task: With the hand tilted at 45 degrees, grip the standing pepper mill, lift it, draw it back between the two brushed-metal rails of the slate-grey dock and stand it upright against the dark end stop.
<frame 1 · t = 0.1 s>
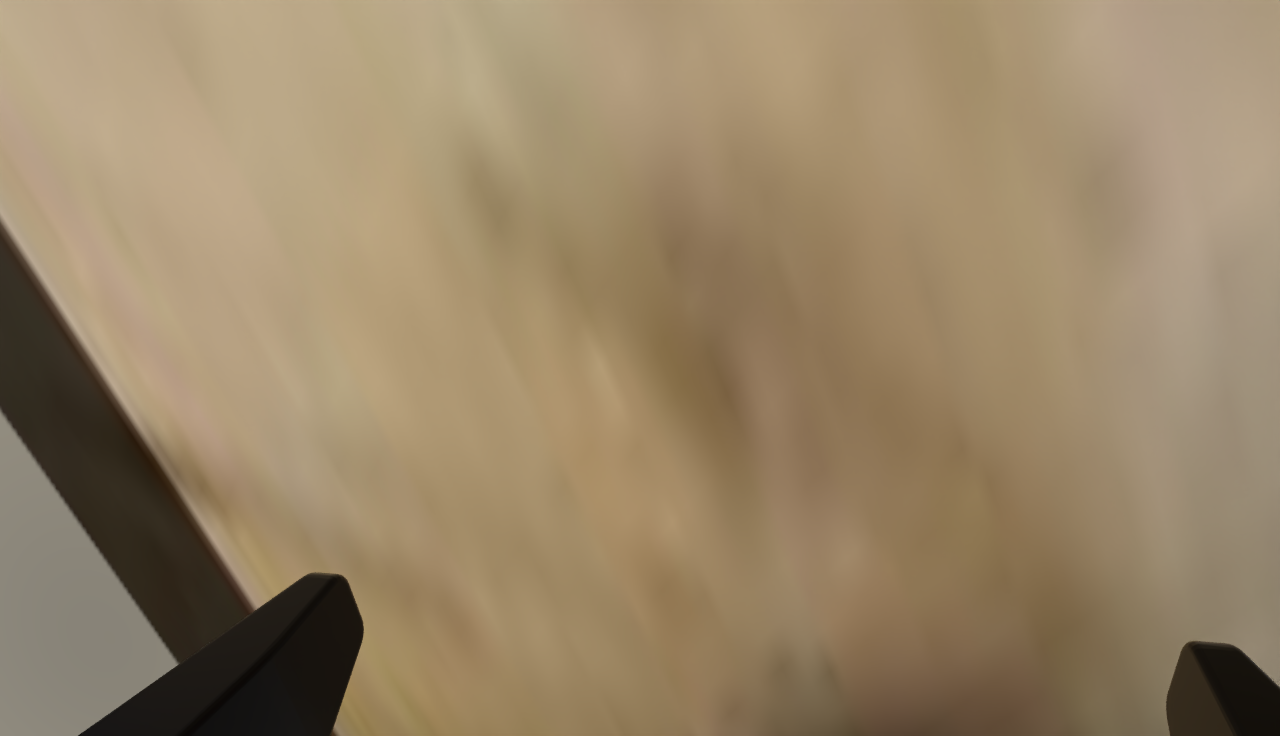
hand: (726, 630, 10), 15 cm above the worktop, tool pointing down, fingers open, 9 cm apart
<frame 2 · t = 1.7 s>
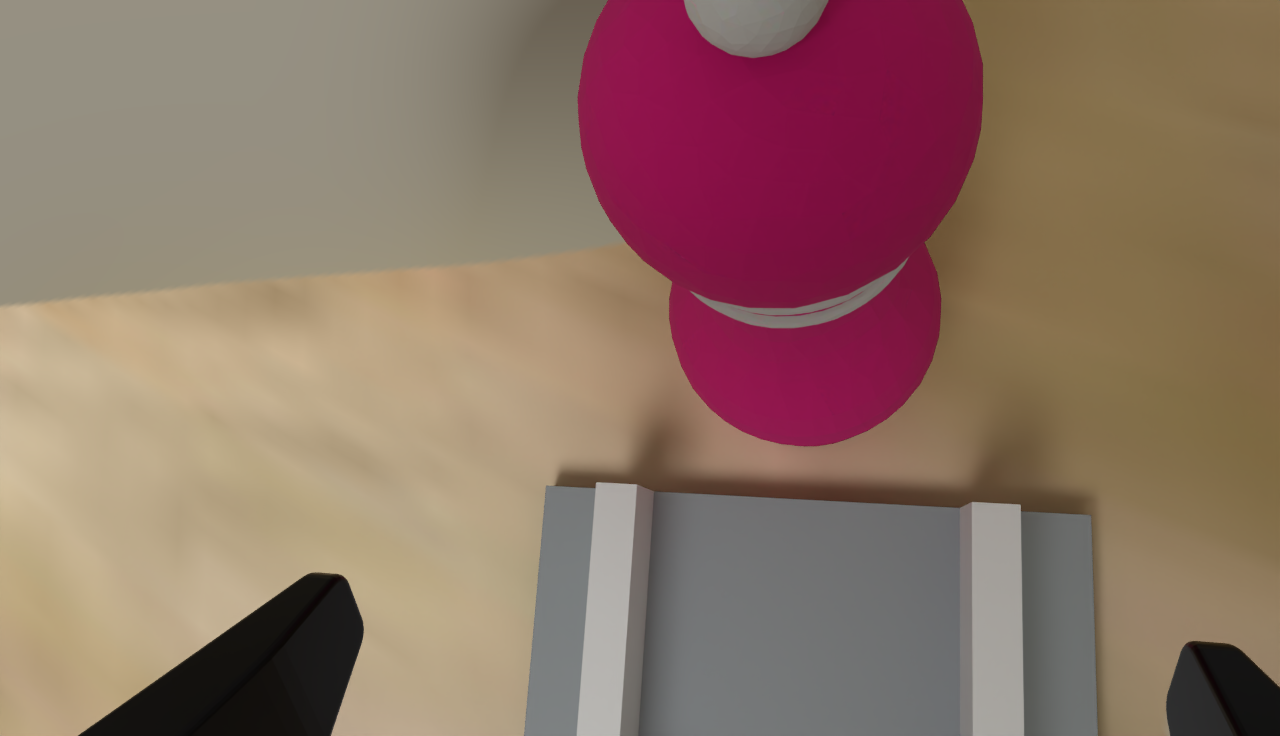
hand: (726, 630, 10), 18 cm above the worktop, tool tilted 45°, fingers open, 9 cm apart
pepper mill: (807, 350, 29), on the worktop
rail dock: (796, 678, 27), on the worktop
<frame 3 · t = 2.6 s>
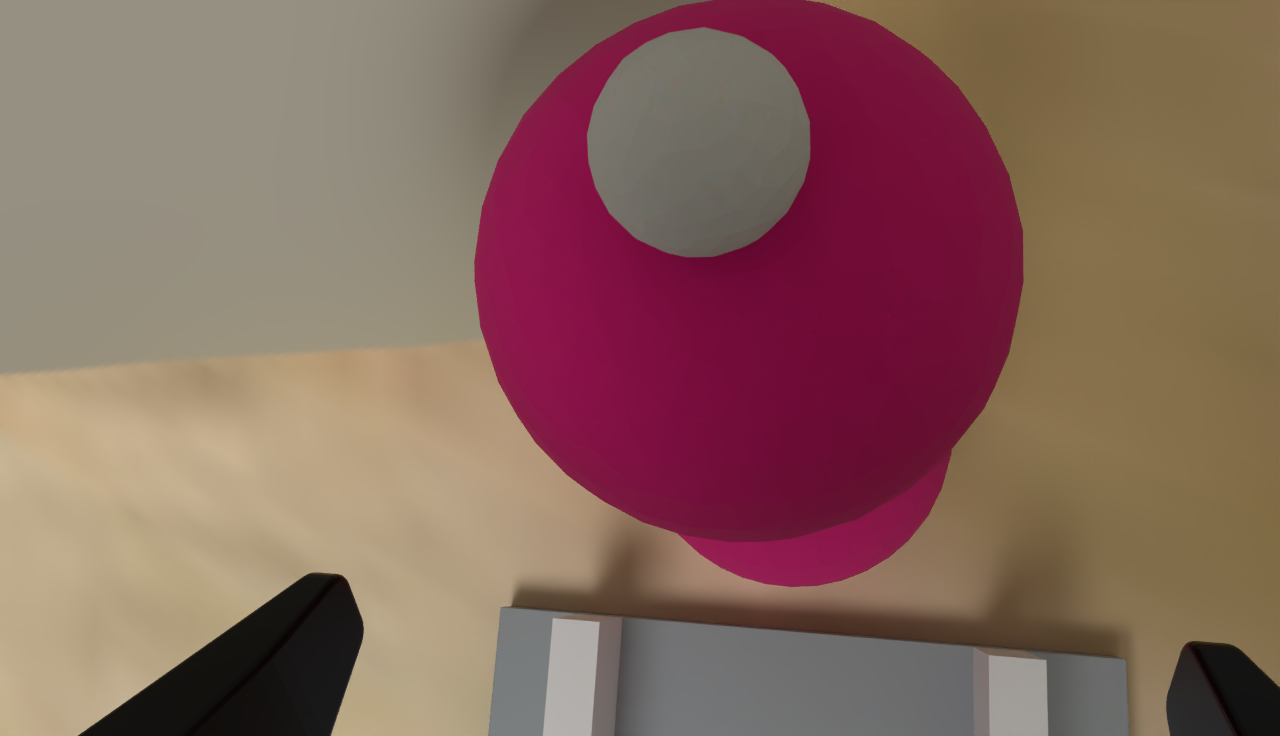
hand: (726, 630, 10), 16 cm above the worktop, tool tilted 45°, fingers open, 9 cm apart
pepper mill: (798, 453, 26), on the worktop
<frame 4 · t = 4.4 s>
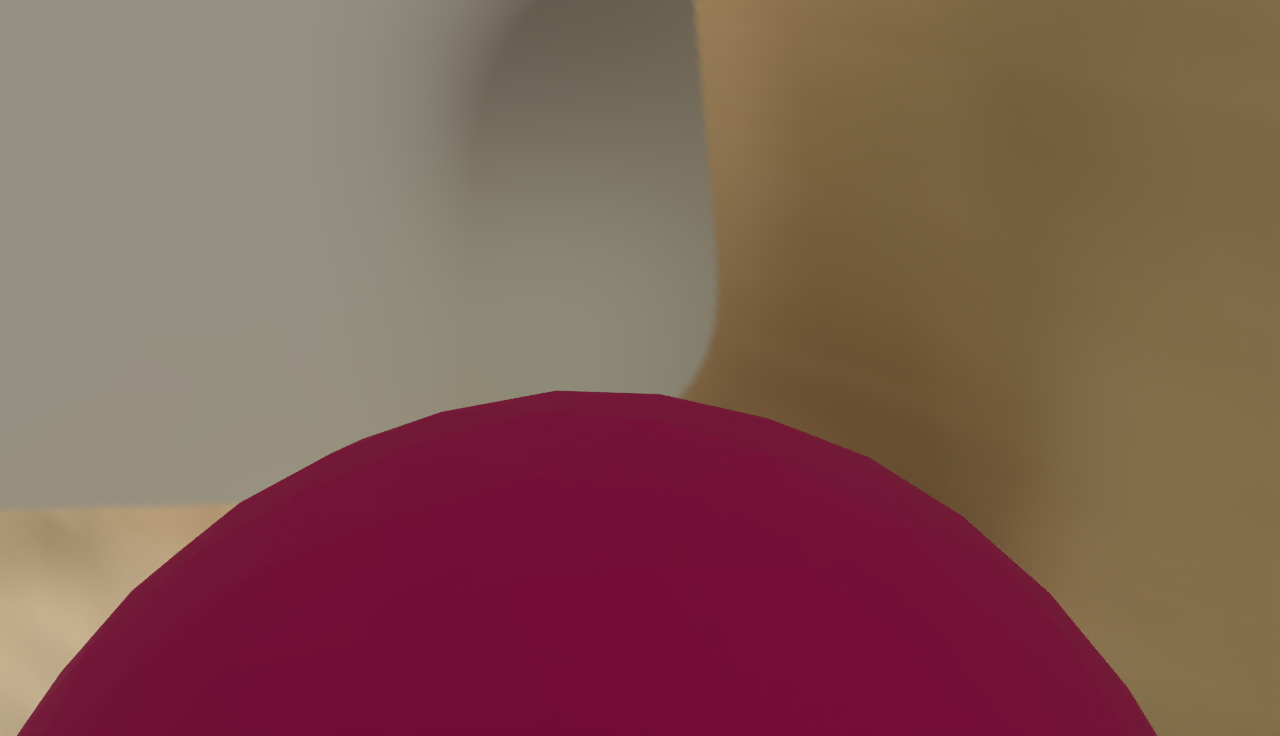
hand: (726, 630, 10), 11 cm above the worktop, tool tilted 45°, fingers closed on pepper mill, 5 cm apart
pepper mill: (780, 664, 20), on the worktop, touching gripper
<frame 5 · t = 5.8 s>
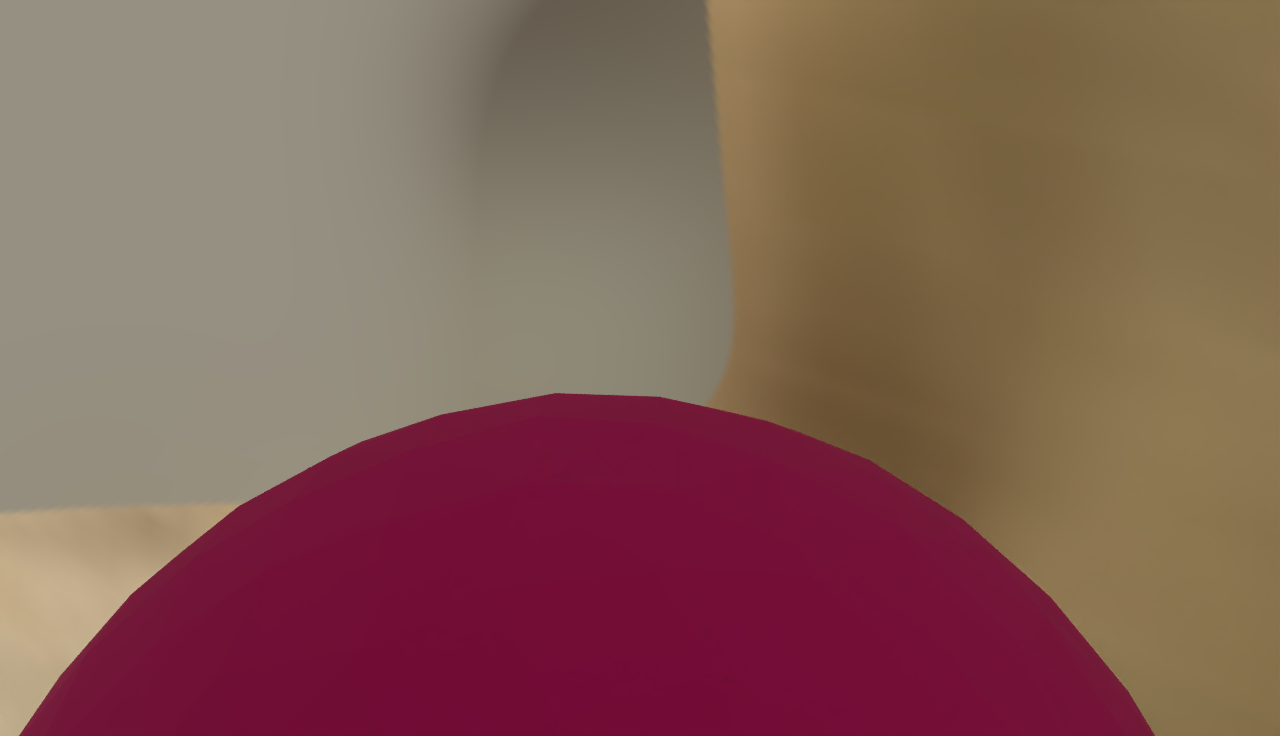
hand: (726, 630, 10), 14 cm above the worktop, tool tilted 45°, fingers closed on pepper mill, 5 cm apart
pepper mill: (781, 661, 20), point 3 cm above the worktop, touching gripper
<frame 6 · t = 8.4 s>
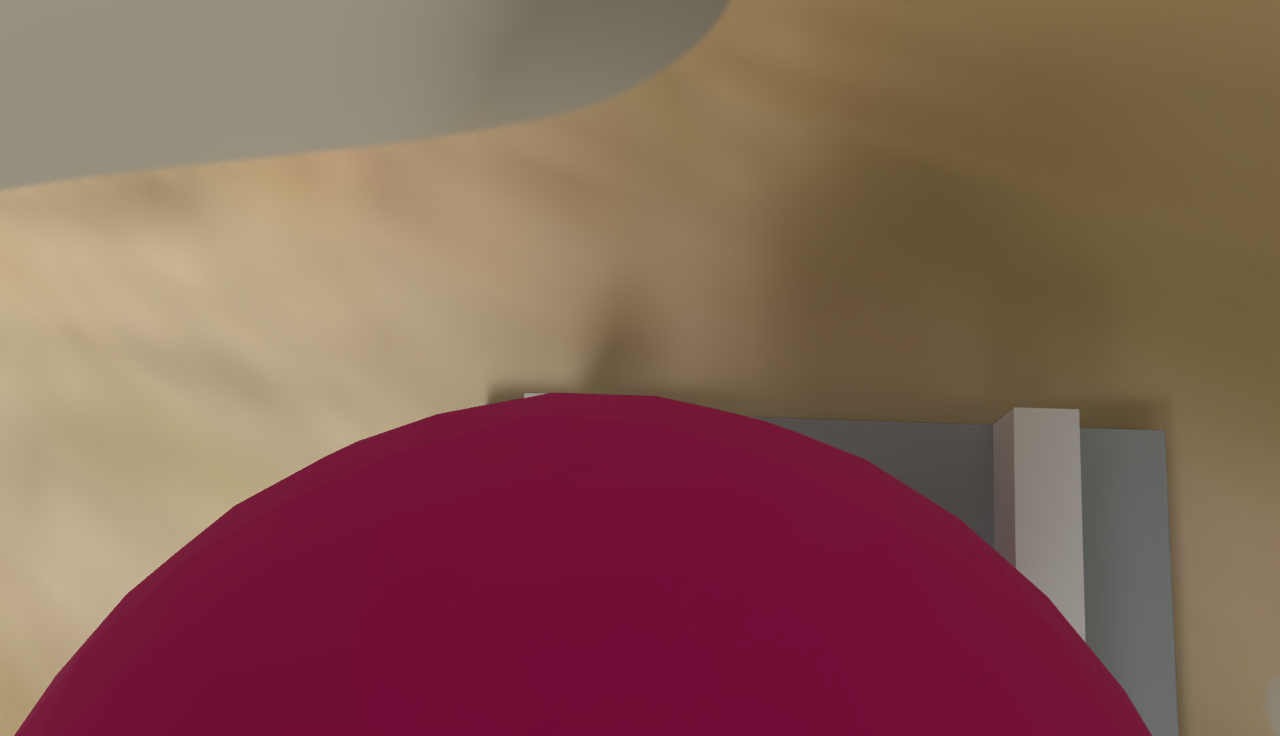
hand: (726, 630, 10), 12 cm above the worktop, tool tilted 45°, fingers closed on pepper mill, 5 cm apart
pepper mill: (780, 661, 20), point 1 cm above the worktop, touching gripper
rail dock: (784, 644, 21), on the worktop
when the fingers open (12 cm above the worktop, at t = 8.6 s): pepper mill stays where it is, resting on rail dock.
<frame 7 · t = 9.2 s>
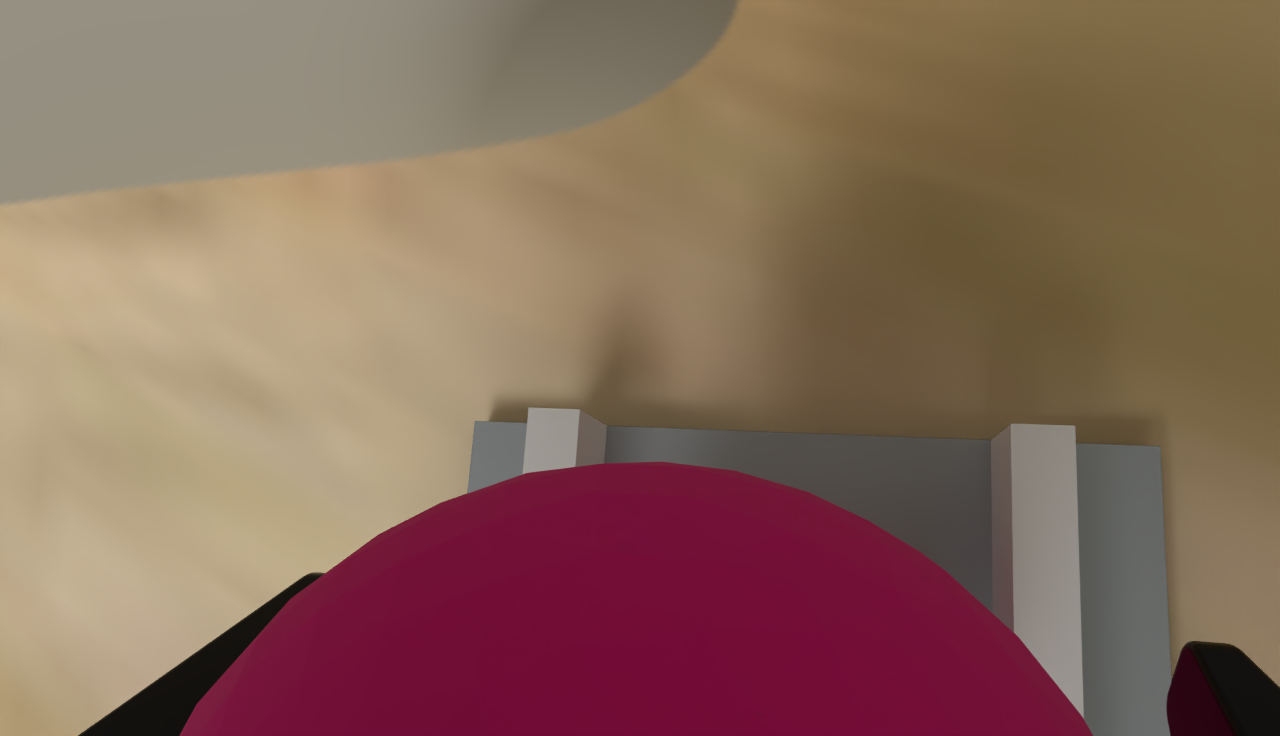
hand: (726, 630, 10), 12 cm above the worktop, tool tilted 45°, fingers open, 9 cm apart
pepper mill: (783, 672, 21), point 1 cm above the worktop, touching rail dock
rail dock: (784, 657, 21), on the worktop
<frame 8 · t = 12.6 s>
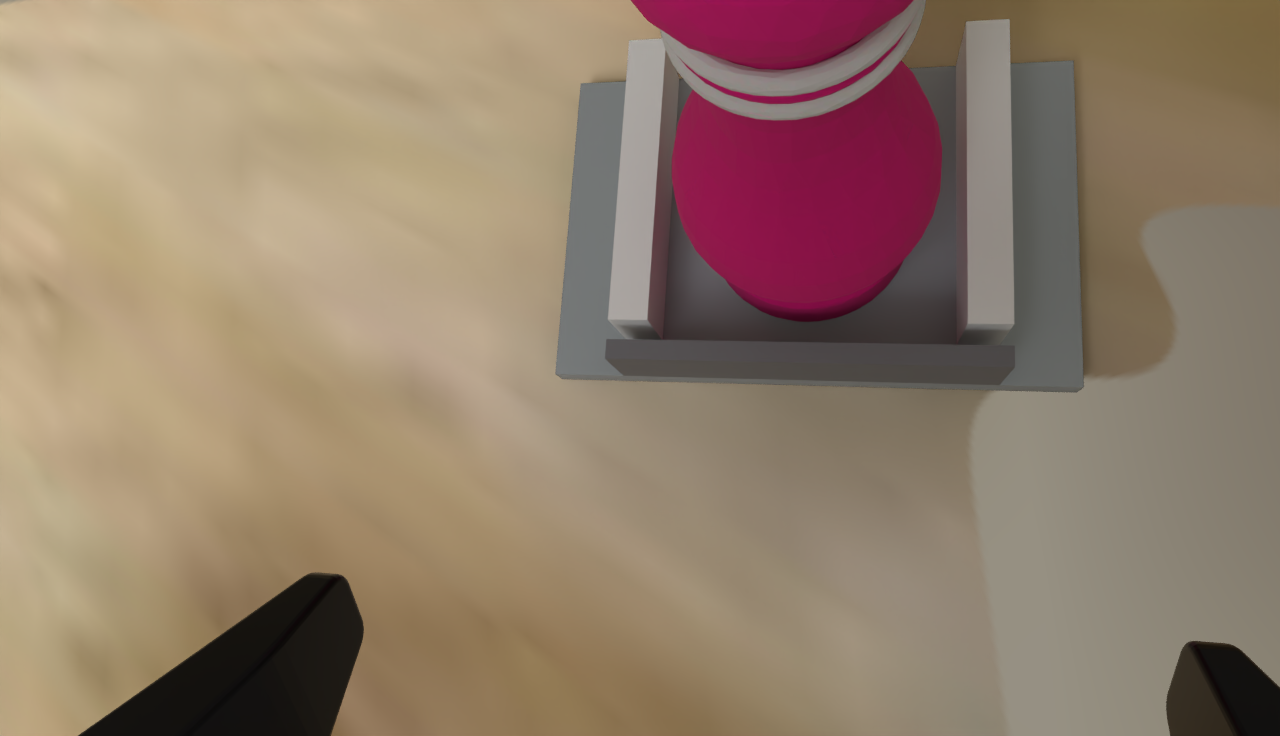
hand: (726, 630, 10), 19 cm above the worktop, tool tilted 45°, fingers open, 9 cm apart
pepper mill: (809, 231, 29), point 1 cm above the worktop, touching rail dock
rail dock: (809, 229, 30), on the worktop
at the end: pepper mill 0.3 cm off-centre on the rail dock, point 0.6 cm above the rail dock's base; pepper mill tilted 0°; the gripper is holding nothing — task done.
